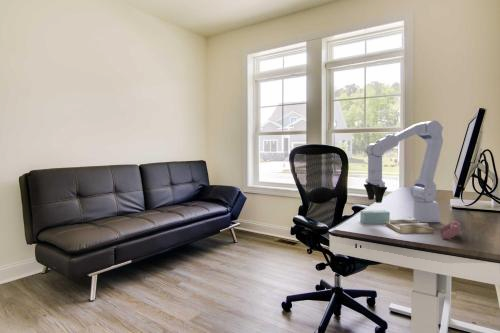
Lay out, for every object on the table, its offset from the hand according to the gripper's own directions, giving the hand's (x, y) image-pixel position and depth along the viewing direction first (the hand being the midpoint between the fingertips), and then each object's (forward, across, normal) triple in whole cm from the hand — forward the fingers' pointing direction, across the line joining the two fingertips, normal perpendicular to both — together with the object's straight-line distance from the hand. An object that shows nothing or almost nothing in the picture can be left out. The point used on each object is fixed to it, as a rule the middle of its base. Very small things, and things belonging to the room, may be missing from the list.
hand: (374, 201), depth 131 cm
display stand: (+9, +12, +8) cm, 17 cm away
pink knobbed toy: (+10, +23, +18) cm, 31 cm away
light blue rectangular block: (+10, 0, 0) cm, 10 cm away
